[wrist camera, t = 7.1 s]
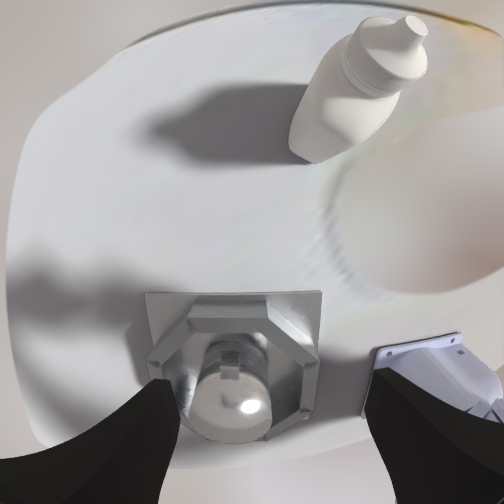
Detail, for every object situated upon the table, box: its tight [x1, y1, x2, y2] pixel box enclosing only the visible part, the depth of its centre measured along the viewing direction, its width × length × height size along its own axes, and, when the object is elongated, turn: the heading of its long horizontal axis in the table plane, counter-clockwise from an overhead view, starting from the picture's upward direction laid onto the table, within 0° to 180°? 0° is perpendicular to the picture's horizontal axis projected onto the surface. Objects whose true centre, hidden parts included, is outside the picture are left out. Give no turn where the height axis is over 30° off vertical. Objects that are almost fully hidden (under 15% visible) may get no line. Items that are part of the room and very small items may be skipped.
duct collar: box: [144, 291, 322, 441], centre depth 18 cm, size 12×12×3 cm
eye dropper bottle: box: [288, 15, 428, 164], centre depth 10 cm, size 4×6×12 cm
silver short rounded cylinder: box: [188, 341, 272, 444], centre depth 16 cm, size 6×5×6 cm
